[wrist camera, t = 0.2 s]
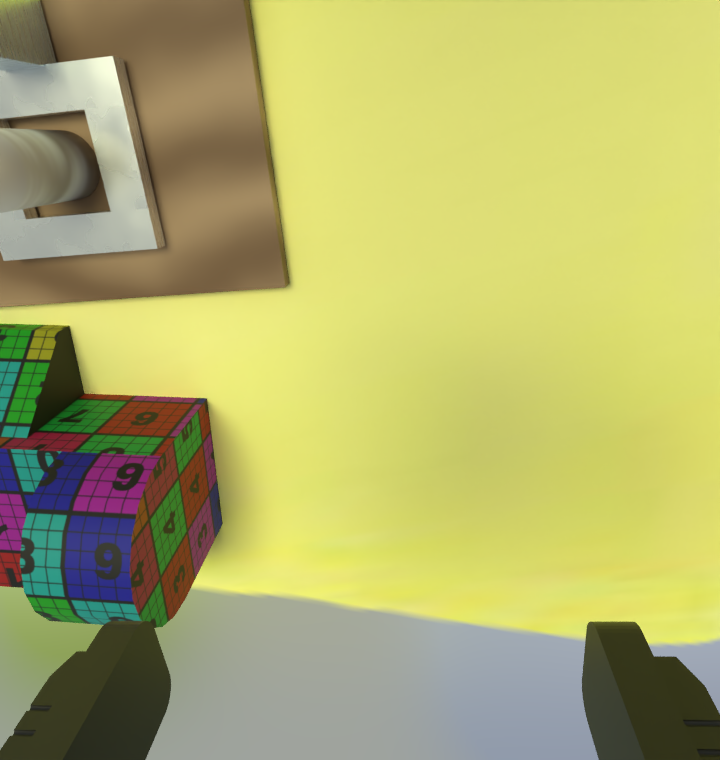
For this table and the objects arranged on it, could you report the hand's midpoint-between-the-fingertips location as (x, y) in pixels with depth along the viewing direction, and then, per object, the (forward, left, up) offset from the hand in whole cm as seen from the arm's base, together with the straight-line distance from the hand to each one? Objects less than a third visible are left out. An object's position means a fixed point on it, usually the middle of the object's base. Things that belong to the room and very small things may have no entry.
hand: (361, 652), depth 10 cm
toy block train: (+10, -28, -29) cm, 41 cm away
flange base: (-9, -20, -29) cm, 36 cm away
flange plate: (-13, -20, -27) cm, 36 cm away
